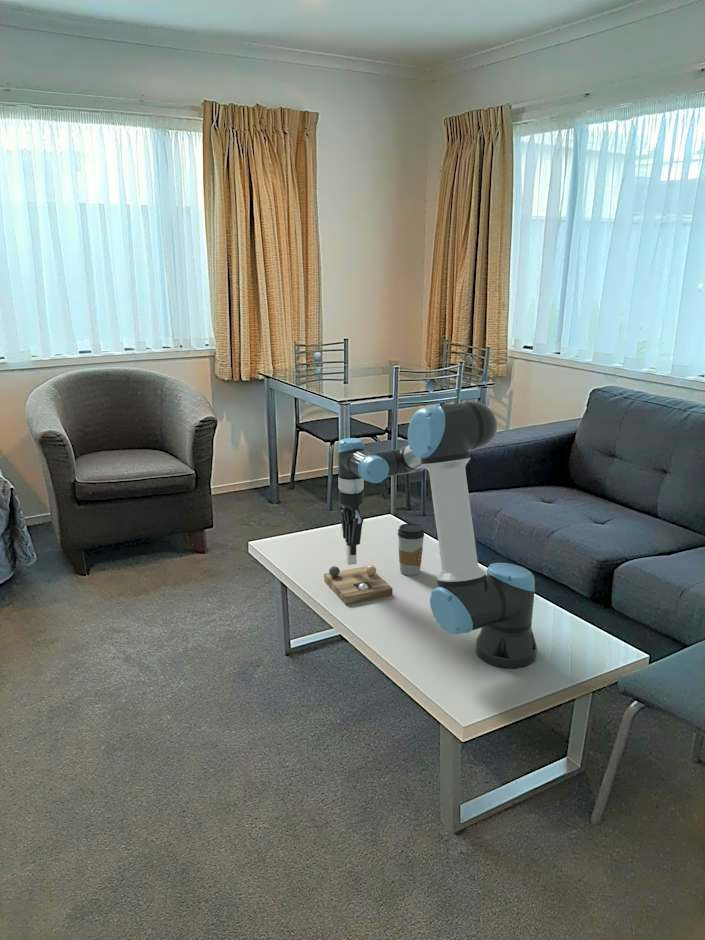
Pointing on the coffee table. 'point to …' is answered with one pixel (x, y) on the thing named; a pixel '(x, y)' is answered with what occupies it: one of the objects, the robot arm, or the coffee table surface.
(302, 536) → the coffee table surface
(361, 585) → the steel ball
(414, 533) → the coffee cup
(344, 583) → the wooden flat board
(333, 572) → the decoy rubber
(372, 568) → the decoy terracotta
